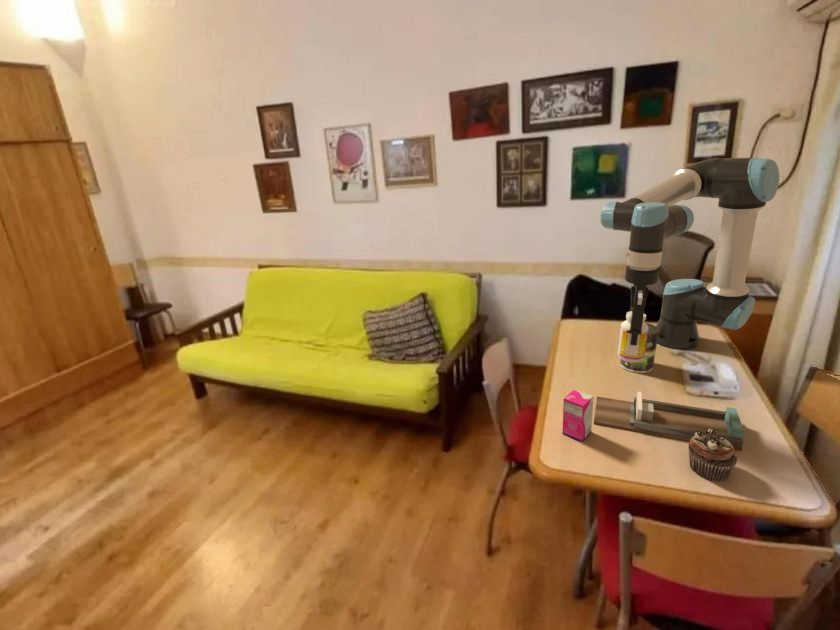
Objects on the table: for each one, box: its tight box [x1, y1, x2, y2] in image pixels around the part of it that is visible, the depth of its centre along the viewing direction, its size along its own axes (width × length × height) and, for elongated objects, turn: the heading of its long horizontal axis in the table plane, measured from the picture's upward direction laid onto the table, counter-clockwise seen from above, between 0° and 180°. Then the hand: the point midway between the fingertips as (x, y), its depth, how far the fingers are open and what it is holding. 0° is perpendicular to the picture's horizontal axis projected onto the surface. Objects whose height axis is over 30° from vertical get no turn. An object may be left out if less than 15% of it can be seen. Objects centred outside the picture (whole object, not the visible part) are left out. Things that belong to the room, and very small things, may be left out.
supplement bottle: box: [617, 310, 649, 363], centre depth 117 cm, size 7×7×13 cm
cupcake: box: [688, 428, 738, 482], centre depth 101 cm, size 10×10×10 cm
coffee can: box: [619, 322, 659, 374], centre depth 145 cm, size 10×10×14 cm
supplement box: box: [561, 389, 594, 443], centre depth 116 cm, size 6×6×12 cm
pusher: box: [636, 391, 654, 421], centre depth 120 cm, size 9×4×5 cm, turn 156°
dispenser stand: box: [593, 396, 745, 452], centre depth 119 cm, size 13×34×5 cm, turn 66°
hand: (631, 348), depth 118 cm, fingers closed on supplement bottle, 7 cm apart
